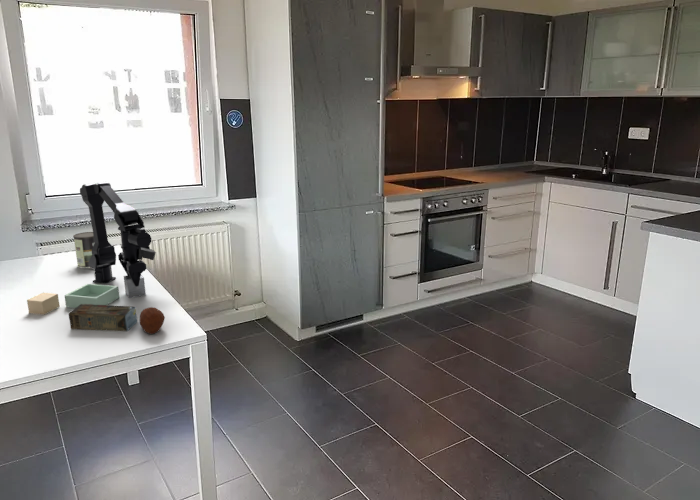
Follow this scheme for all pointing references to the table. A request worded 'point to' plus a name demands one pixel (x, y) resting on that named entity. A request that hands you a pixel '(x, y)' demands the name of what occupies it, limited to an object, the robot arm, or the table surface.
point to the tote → (92, 295)
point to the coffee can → (84, 248)
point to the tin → (134, 287)
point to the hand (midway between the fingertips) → (134, 282)
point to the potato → (151, 320)
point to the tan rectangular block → (43, 303)
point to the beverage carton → (103, 317)
